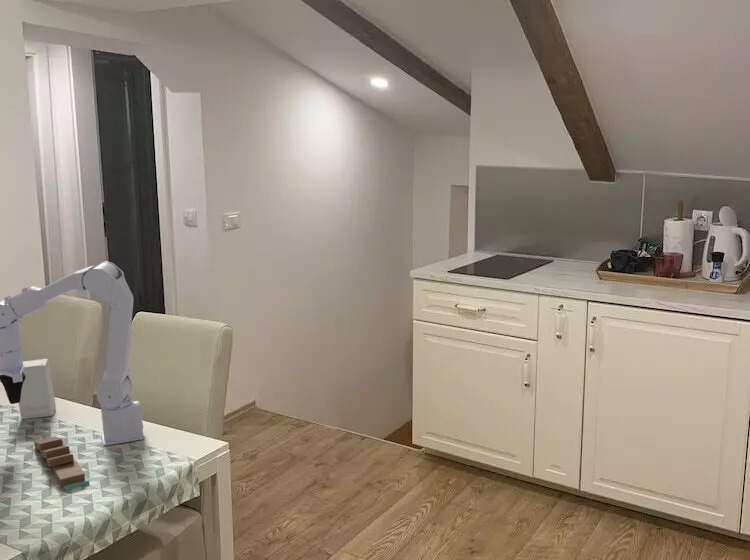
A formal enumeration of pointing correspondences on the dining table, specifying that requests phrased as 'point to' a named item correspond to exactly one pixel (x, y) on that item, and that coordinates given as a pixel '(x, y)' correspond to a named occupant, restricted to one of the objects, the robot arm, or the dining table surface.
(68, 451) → the walnut domino
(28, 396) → the skincare box
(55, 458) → the walnut domino
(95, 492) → the dining table surface
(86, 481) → the teal domino
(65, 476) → the walnut domino
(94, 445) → the dining table surface
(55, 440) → the walnut domino
